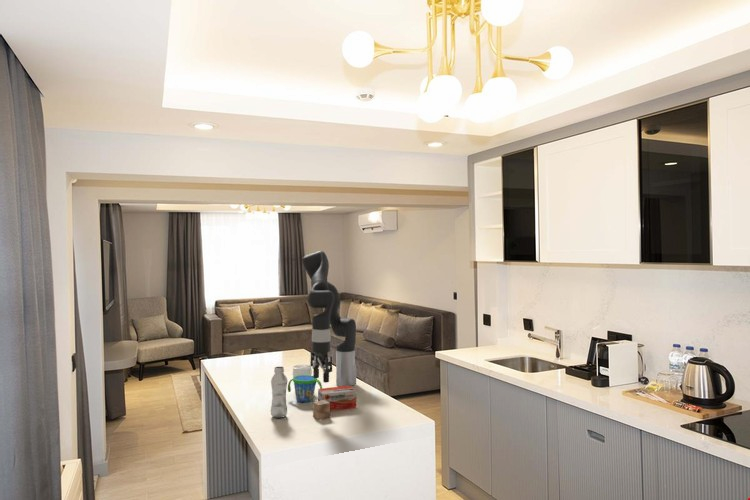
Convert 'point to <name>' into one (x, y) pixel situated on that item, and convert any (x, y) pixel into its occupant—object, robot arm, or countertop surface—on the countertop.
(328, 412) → the walnut block
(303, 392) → the snack cup
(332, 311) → the robot arm
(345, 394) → the medicine box
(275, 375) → the plastic bottle
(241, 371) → the countertop surface
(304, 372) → the cup
